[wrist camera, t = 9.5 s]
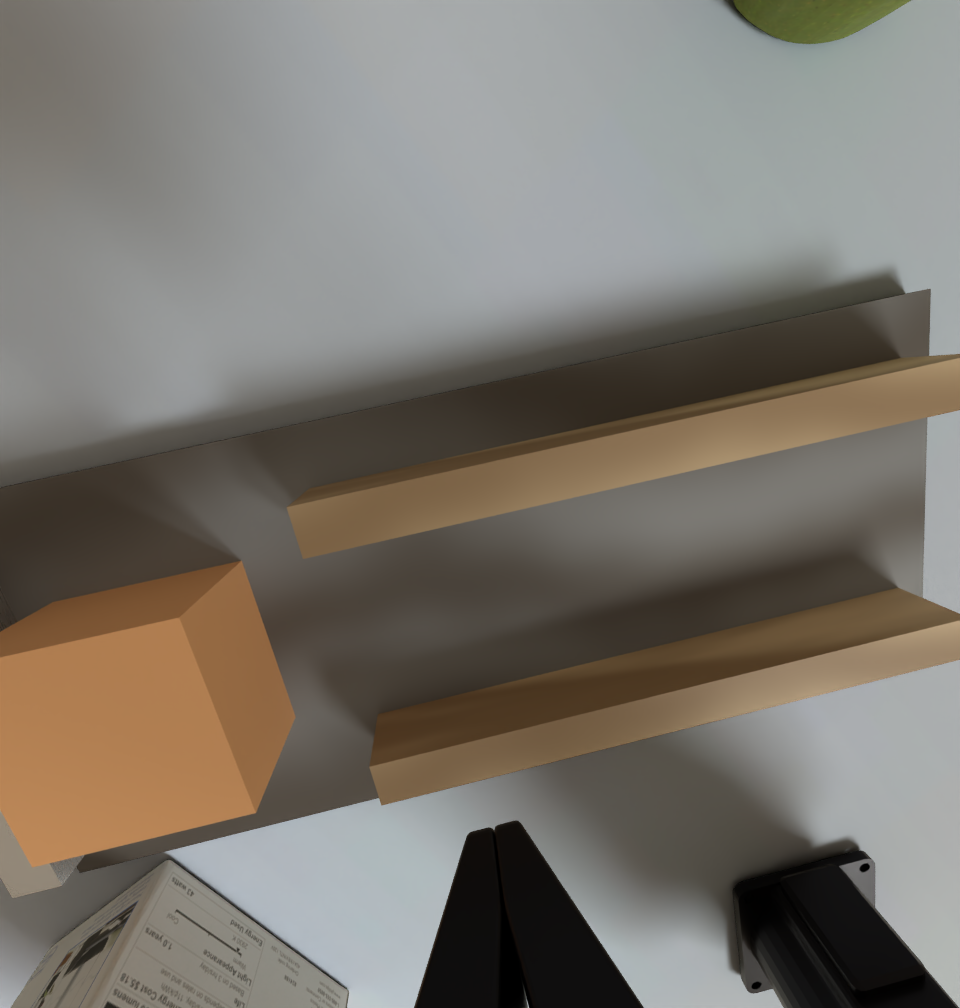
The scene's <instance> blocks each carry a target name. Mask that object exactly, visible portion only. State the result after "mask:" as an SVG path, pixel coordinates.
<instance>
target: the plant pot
mask: <svg viewBox="0 0 960 1008" xmlns="http://www.w3.org/2000/svg"><path fill="white" fill-rule="evenodd" d="M733 1H734V4H735V7H736V8H737V9H738V10H739V11H740V13H741V14H742V15H743V16H744V17H745V18H746V19H747V20H748V21H749V22H751V23H752V24H753V25H755V26H756V27H758V28H759V29H761V30H762V31H764V32H766V33H767V34H769V35H771V36H773V37H776V38H779V39H782V40H785V41H788V42H793V43H802V44H816V43H824V42H830V41H834V40H838V39H841V38H844V37H847V36H849V35H851V34H853V33H855V32H858V31H860V30H861V29H863V28H865V27H867V26H868V25H870V24H872V23H874V22H876V21H877V20H879V19H881V18H883V17H884V16H886V15H888V14H889V13H891V12H893V11H894V10H896V9H898V8H899V7H901V6H902V5H904V4H906V3H907V2H909V1H911V0H733Z"/></svg>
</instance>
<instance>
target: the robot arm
mask: <svg viewBox="0 0 960 1008" xmlns="http://www.w3.org/2000/svg"><path fill="white" fill-rule="evenodd" d="M733 899H734V909H735V919H736V929H737V940H738V950H739V960H740V970H741V979H742V981H743V983H744V985H745V987H746V989H747V991H748V992H750V993H758V992H762V991H765V990H769V989H773V990H774V991H775V993H776V995H777V997H778V998H779V1000H780V1002H781V1004H782V1006H783V1007H784V1008H959V1007H958V1006H957V1005H956V1004H955V1002H954V1001H953V1000H952V999H951V998H950V997H949V995H948V994H947V993H946V992H945V991H944V990H943V988H942V987H941V986H940V985H939V984H938V983H937V981H936V980H935V979H934V978H933V977H932V975H931V974H930V973H929V972H928V971H927V970H926V968H925V967H924V965H923V964H922V962H921V961H920V960H919V959H918V958H917V956H916V955H915V954H914V953H913V952H912V951H911V949H910V948H909V947H908V946H907V945H906V943H905V942H904V941H903V940H902V939H901V938H900V936H899V935H898V934H897V933H896V932H895V931H894V929H893V928H892V927H891V926H890V925H889V924H888V922H887V921H886V920H885V919H884V918H883V917H882V915H881V914H880V913H879V912H878V911H877V910H876V908H875V863H874V861H873V860H872V859H871V858H870V857H869V856H868V855H867V854H866V853H865V852H864V851H855V852H852V853H848V854H844V855H840V856H837V857H833V858H829V859H825V860H822V861H818V862H814V863H811V864H807V865H803V866H799V867H796V868H792V869H788V870H784V871H781V872H777V873H773V874H770V875H766V876H762V877H758V878H755V879H751V880H747V881H744V882H741V883H739V884H737V885H736V886H735V888H734V889H733ZM526 997H527V999H526ZM527 1001H528V1005H529V1008H644V1007H643V1006H642V1004H641V1003H640V1001H639V1000H638V998H637V997H636V995H635V994H634V992H633V991H632V989H631V988H630V986H629V985H628V983H627V982H626V980H625V979H624V977H623V976H622V974H621V973H620V971H619V970H618V968H617V967H616V965H615V964H614V962H613V961H612V959H611V958H610V956H609V955H608V953H607V952H606V950H605V949H604V947H603V946H602V944H601V943H600V941H599V940H598V938H597V937H596V935H595V934H594V932H593V931H592V929H591V928H590V926H589V925H588V923H587V922H586V920H585V919H584V917H583V916H582V914H581V913H580V911H579V910H578V908H577V907H576V905H575V904H574V902H573V901H572V899H571V898H570V896H569V895H568V893H567V892H566V890H565V889H564V887H563V886H562V884H561V883H560V881H559V880H558V878H557V877H556V875H555V874H554V872H553V871H552V869H551V868H550V866H549V865H548V863H547V862H546V860H545V859H544V857H543V856H542V854H541V853H540V851H539V850H538V848H537V847H536V845H535V844H534V842H533V841H532V839H531V838H530V836H529V835H528V833H527V832H526V830H525V829H524V827H523V826H522V824H521V823H520V822H519V821H512V822H508V823H504V824H500V825H497V826H496V827H495V830H493V829H492V828H489V827H488V828H485V829H481V830H477V831H473V832H470V833H469V834H468V835H467V838H466V840H465V843H464V847H463V850H462V853H461V856H460V860H459V863H458V866H457V869H456V873H455V876H454V879H453V882H452V886H451V889H450V892H449V896H448V899H447V902H446V905H445V909H444V912H443V915H442V918H441V922H440V925H439V928H438V931H437V935H436V938H435V941H434V944H433V948H432V951H431V954H430V957H429V961H428V964H427V967H426V970H425V974H424V977H423V980H422V984H421V987H420V990H419V993H418V997H417V1000H416V1003H415V1006H414V1008H528V1006H527Z"/></svg>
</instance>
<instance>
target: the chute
mask: <svg viewBox="0 0 960 1008" xmlns="http://www.w3.org/2000/svg"><path fill="white" fill-rule="evenodd" d="M930 295H931V289H927V290H922V291H917V292H912V293H907V294H902V295H897V296H893V297H888V298H883V299H879V300H874V301H869V302H865V303H860V304H855V305H851V306H846V307H841V308H837V309H832V310H827V311H823V312H818V313H813V314H809V315H804V316H799V317H795V318H790V319H785V320H781V321H776V322H771V323H767V324H762V325H757V326H753V327H748V328H743V329H739V330H734V331H729V332H725V333H720V334H715V335H711V336H706V337H701V338H697V339H692V340H687V341H683V342H678V343H673V344H669V345H664V346H659V347H655V348H650V349H645V350H641V351H636V352H631V353H627V354H622V355H617V356H613V357H608V358H603V359H599V360H594V361H589V362H585V363H580V364H575V365H571V366H566V367H561V368H557V369H552V370H547V371H543V372H538V373H533V374H529V375H524V376H519V377H515V378H510V379H505V380H501V381H496V382H491V383H487V384H482V385H477V386H473V387H468V388H463V389H459V390H454V391H449V392H445V393H440V394H435V395H431V396H426V397H421V398H417V399H412V400H407V401H403V402H398V403H393V404H389V405H384V406H379V407H375V408H370V409H365V410H361V411H356V412H351V413H347V414H342V415H337V416H333V417H328V418H323V419H319V420H314V421H309V422H305V423H300V424H295V425H291V426H286V427H281V428H277V429H272V430H267V431H263V432H258V433H253V434H249V435H244V436H239V437H235V438H230V439H225V440H221V441H216V442H211V443H207V444H202V445H197V446H193V447H188V448H183V449H179V450H174V451H169V452H165V453H160V454H155V455H151V456H146V457H141V458H137V459H132V460H127V461H123V462H118V463H113V464H109V465H104V466H99V467H95V468H90V469H85V470H81V471H76V472H71V473H67V474H62V475H57V476H53V477H48V478H43V479H39V480H34V481H29V482H25V483H20V484H15V485H11V486H6V487H1V488H0V587H1V590H2V592H3V594H4V596H5V598H6V600H7V602H8V604H9V606H10V608H11V610H12V612H13V614H14V616H15V618H16V620H17V622H18V621H20V620H22V619H24V618H25V617H27V616H29V615H31V614H33V613H34V612H36V611H38V610H40V609H41V608H43V607H45V606H47V605H48V604H50V603H52V602H56V601H60V600H65V599H69V598H74V597H78V596H83V595H87V594H92V593H97V592H101V591H106V590H110V589H115V588H119V587H124V586H129V585H133V584H138V583H142V582H147V581H151V580H156V579H160V578H165V577H170V576H174V575H179V574H183V573H188V572H192V571H197V570H201V569H206V568H211V567H215V566H220V565H224V564H229V563H233V562H238V561H242V563H243V566H244V569H245V572H246V575H247V578H248V580H249V583H250V586H251V589H252V592H253V595H254V598H255V601H256V604H257V606H258V609H259V612H260V615H261V618H262V621H263V624H264V627H265V630H266V633H267V635H268V638H269V641H270V644H271V647H272V650H273V653H274V656H275V659H276V662H277V664H278V667H279V670H280V673H281V676H282V679H283V682H284V685H285V688H286V690H287V693H288V696H289V699H290V702H291V705H292V708H293V711H294V714H295V719H294V722H293V724H292V727H291V729H290V732H289V734H288V736H287V739H286V741H285V744H284V746H283V749H282V751H281V753H280V756H279V758H278V761H277V763H276V765H275V768H274V770H273V773H272V775H271V778H270V780H269V782H268V785H267V787H266V790H265V792H264V795H263V797H262V799H261V802H260V804H259V807H258V809H257V811H256V813H254V814H250V815H246V816H242V817H237V818H233V819H229V820H225V821H221V822H217V823H213V824H209V825H205V826H201V827H196V828H192V829H188V830H184V831H180V832H176V833H172V834H168V835H164V836H160V837H155V838H151V839H147V840H143V841H139V842H135V843H131V844H127V845H123V846H119V847H115V848H110V849H106V850H102V851H98V852H94V853H90V854H86V855H85V856H84V857H83V858H82V860H81V861H80V862H79V864H78V865H77V866H76V867H77V868H78V870H79V872H80V873H82V872H86V871H90V870H94V869H98V868H102V867H106V866H110V865H113V864H117V863H121V862H125V861H129V860H133V859H137V858H141V857H145V856H149V855H153V854H157V853H161V852H165V851H169V850H173V849H177V848H181V847H185V846H189V845H193V844H197V843H201V842H205V841H209V840H213V839H217V838H221V837H225V836H229V835H233V834H237V833H241V832H245V831H249V830H253V829H257V828H261V827H265V826H269V825H273V824H277V823H281V822H285V821H289V820H293V819H297V818H301V817H304V816H308V815H312V814H316V813H320V812H324V811H328V810H332V809H336V808H340V807H344V806H348V805H352V804H356V803H360V802H364V801H368V800H372V799H376V798H379V799H380V802H381V805H385V804H389V803H393V802H397V801H401V800H405V799H409V798H413V797H417V796H421V795H425V794H429V793H433V792H437V791H440V790H444V789H448V788H452V787H456V786H460V785H464V784H468V783H472V782H476V781H480V780H484V779H488V778H492V777H496V776H500V775H504V774H508V773H512V772H516V771H520V770H524V769H528V768H532V767H536V766H540V765H544V764H548V763H552V762H556V761H560V760H563V759H567V758H571V757H575V756H579V755H583V754H587V753H591V752H595V751H599V750H603V749H607V748H611V747H615V746H619V745H623V744H627V743H631V742H635V741H639V740H643V739H647V738H651V737H655V736H659V735H663V734H667V733H671V732H675V731H679V730H682V729H686V728H690V727H694V726H698V725H702V724H706V723H710V722H714V721H718V720H722V719H726V718H730V717H734V716H738V715H742V714H746V713H750V712H754V711H758V710H762V709H766V708H770V707H774V706H778V705H782V704H786V703H790V702H794V701H798V700H801V699H805V698H809V697H813V696H817V695H821V694H825V693H829V692H833V691H837V690H841V689H845V688H849V687H853V686H857V685H861V684H865V683H869V682H873V681H877V680H881V679H885V678H889V677H893V676H897V675H901V674H905V673H909V672H913V671H917V670H920V669H924V668H928V667H932V666H936V665H940V664H944V663H948V662H952V661H956V660H960V614H959V613H956V612H954V611H952V610H949V609H947V608H945V607H942V606H940V605H938V604H935V603H933V602H931V601H928V600H926V599H924V598H922V596H923V559H924V521H925V483H926V446H927V417H931V416H935V415H940V414H944V413H948V412H953V411H957V410H960V354H954V355H938V356H929V333H930Z"/></svg>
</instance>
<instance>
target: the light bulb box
mask: <svg viewBox="0 0 960 1008" xmlns="http://www.w3.org/2000/svg"><path fill="white" fill-rule="evenodd" d="M348 996H349V991H348V990H347V989H345V988H343V987H342V986H340V985H339V984H338V983H336V982H335V981H334V980H332V979H331V978H329V977H328V976H327V975H325V974H324V973H323V972H321V971H320V970H319V969H317V968H316V967H315V966H313V965H312V964H311V963H309V962H308V961H306V960H305V959H304V958H302V957H301V956H300V955H298V954H297V953H295V952H294V951H293V950H291V949H290V948H289V947H287V946H286V945H285V944H283V943H282V942H281V941H279V940H278V939H277V938H275V937H274V936H273V935H271V934H270V933H269V932H267V931H266V930H265V929H263V928H262V927H260V926H259V925H258V924H256V923H255V922H254V921H252V920H251V919H250V918H248V917H247V916H246V915H244V914H243V913H242V912H240V911H239V910H238V909H236V908H235V907H234V906H232V905H231V904H230V903H228V902H227V901H226V900H224V899H223V898H221V897H220V896H219V895H217V894H216V893H215V892H213V891H212V890H211V889H209V888H208V887H207V886H205V885H204V884H202V883H201V882H200V881H198V880H197V879H196V878H194V877H193V876H192V875H190V874H189V873H187V872H186V871H185V870H184V869H182V868H181V867H180V866H178V865H177V864H176V863H174V862H173V861H171V860H166V861H164V862H163V863H161V864H160V865H159V866H157V867H156V868H155V869H153V870H152V871H151V872H149V873H148V874H147V875H145V876H144V877H143V878H142V879H140V880H139V881H138V882H136V883H135V884H134V885H132V886H131V887H130V888H128V889H127V890H126V891H124V892H123V893H122V894H121V895H119V896H118V897H117V898H115V899H114V900H113V901H111V902H110V903H109V904H107V905H106V906H105V907H103V908H102V909H101V910H99V911H98V912H97V913H96V914H94V915H93V916H92V917H90V918H89V919H88V920H86V921H85V922H84V923H82V924H81V925H80V926H78V927H77V928H76V929H74V930H73V931H72V932H70V933H69V934H68V935H66V936H65V937H64V938H62V939H61V940H60V941H59V942H57V943H56V944H55V945H53V946H52V947H51V948H50V949H49V951H48V952H47V954H46V955H45V956H44V958H43V960H42V961H41V963H40V964H39V966H38V967H37V969H36V970H35V972H34V973H33V975H32V976H31V978H30V979H29V981H28V982H27V984H26V985H25V987H24V988H23V990H22V991H21V993H20V994H19V996H18V997H17V999H16V1000H15V1002H14V1003H13V1005H12V1006H11V1008H347V1003H348Z"/></svg>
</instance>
